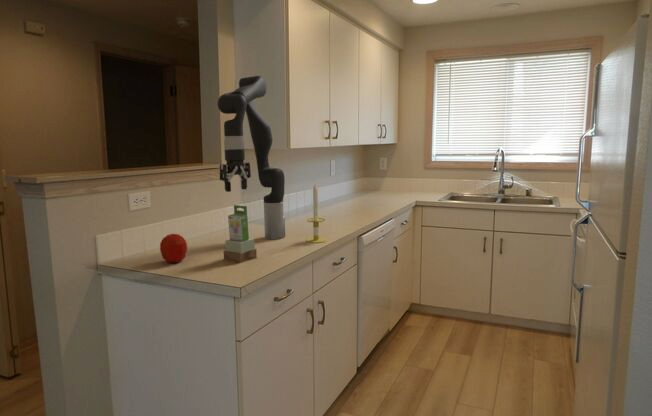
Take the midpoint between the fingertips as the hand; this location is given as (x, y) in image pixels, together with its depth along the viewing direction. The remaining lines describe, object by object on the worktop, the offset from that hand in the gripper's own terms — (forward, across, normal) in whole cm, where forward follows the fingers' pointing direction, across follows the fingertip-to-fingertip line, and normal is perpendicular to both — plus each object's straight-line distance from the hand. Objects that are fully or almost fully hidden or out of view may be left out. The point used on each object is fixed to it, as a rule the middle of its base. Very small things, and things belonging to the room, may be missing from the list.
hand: (236, 190), depth 178 cm
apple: (+27, +16, -19) cm, 37 cm away
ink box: (+20, 0, 0) cm, 20 cm away
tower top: (+24, -1, 0) cm, 24 cm away
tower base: (+28, 0, 0) cm, 28 cm away
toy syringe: (+28, -43, +7) cm, 52 cm away
